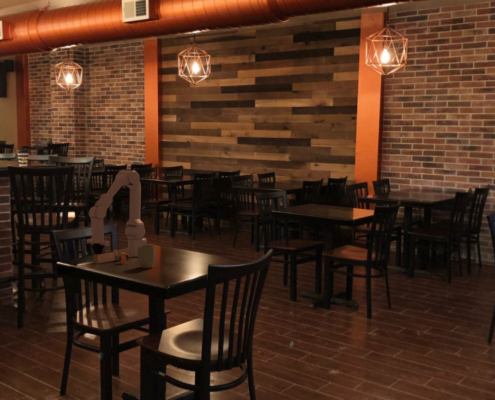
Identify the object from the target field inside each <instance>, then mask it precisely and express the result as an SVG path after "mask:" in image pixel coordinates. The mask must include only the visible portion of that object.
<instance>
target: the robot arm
mask: <svg viewBox="0 0 495 400" xmlns="http://www.w3.org/2000/svg"><path fill="white" fill-rule="evenodd" d="M141 184H142V183H141V181H140V174H139V173H138V172H137V171H136V170H124V169H121V170H119V171H118V172H117V174H116V175H115V179H114V181H113V183H112V184H111V186H110V187H109V188H108V191H107V192H106V193H102V194H100V196H99V199H98V201H97V202H96V203H95V204H94V206H92V207H91V208H90V209H89V211H88V216H89V218H90V221H91V222H90V223H91V226H90V227H91V228H90V229H91V238H87V239H86V244H91V247H90V248H92V251H93V253H94V255H95V254H96V255H98V254H103V249H104V248H105V247H109V246H110V241H108V240H105V232H104V231H105V229H104V227H105V225H104V218H105V217H106V215H107V210H108V209H109V208H110V206H111V204H112V203H113V201H114V200H113V198H114V196H115V194H117V192H118V191H119V190H120V189H121V188H122V186H127V187H128V188H129V215H128V216H129V218H128V220H127V221H126V223H125V225H126V226H125V229H124V234H125V235H126V238H127V249H128V250H127V253H126V257H128V258H134V257H136V258H138V254H137V247H138V246H140V245H148V242H147V241H148V240H147V238H146V237H144V236H145V234H146V229H145V223H144V222H143V221H142V220H141V209H142V208H141V203H142V202H141V200H142V199H141V198H142V196H141V195H142V185H141Z"/></svg>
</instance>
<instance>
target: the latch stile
mask: <svg viewBox="0 0 495 400" xmlns="http://www.w3.org/2000/svg"><path fill="white" fill-rule="evenodd" d="M126 254H127V252H120V260H121V261H120V264H121V265H126V264H127V265H128V262H127V255H126Z"/></svg>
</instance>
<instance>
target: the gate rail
mask: <svg viewBox="0 0 495 400" xmlns="http://www.w3.org/2000/svg"><path fill="white" fill-rule="evenodd" d="M92 256H93V261H92V262H93V264H94V263H95V264H94V265H97V263H98V264H102V263H108V262H113V261H114V262H115V261H116V260H115V255H114V252H113V251H111V252H106V253H101V254H98V255H96V254H95V253H94V254H93V255H92Z"/></svg>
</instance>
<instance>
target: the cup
mask: <svg viewBox="0 0 495 400" xmlns="http://www.w3.org/2000/svg"><path fill="white" fill-rule="evenodd" d="M155 247H156V246H155V245H153V244H147V245H140V246H138V247H137V254H138V256H137V263H138V265H139V266H138V267H140V268H141V269H152V268H153V267H154V265H155V263H156V262H155V260H156V248H155Z"/></svg>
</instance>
